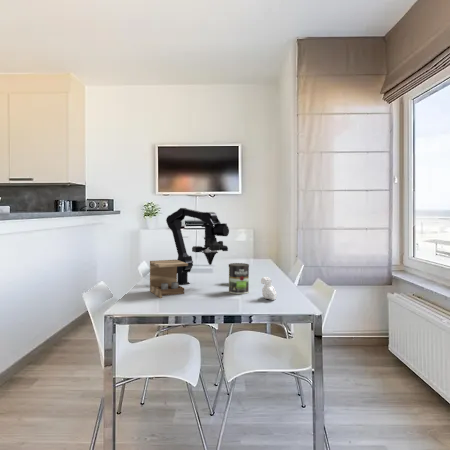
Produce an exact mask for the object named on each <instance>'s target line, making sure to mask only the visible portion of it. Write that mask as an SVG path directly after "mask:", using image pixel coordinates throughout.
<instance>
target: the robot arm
mask: <svg viewBox="0 0 450 450" xmlns="http://www.w3.org/2000/svg"><path fill="white" fill-rule="evenodd" d="M186 217H189V218H193V219H198V220H200V221H201V222H203V224H202V225H201V228H204V237H203V240H204V244H203V246H201V245H195V246H192V248H191V251H192V252H193V253H202V254H204V256H205V258H206V260H207V263H208V265H210V266H211V265H212V263H213V261H214V259H215V255H217V254H218V253H219V251H222V252H228V251H229V248H228V246H227V245H225V244H224V241H223V240H219V241H217V240H218V239H217V237H228V235H229V233H230V228H229V226H228V223H221V221H220V220H219V217H218V215H217V212H213V211H209V212H208V211H206V212H205V211H199V210H195V209H189V208H186V207H180V208H178V210H176V211H174V212H173V213H171V214H170V215H167V217H166V218H165V221H166V224H167V226H168V229H170V231H171V232H172V236H173V239H174V245H175V248H176V252H177V255H178V256H177V259H176V260H179V261H182V262H185V263H188V266H177V282H178V285H179V286H181V285H189V284H190V283H191V282H189V279H188V277H189V276H188V273H190V272H191V271H192V269H193V266H194V260H193V256H192V255H189V254H188V253H187V248H186V246H185V242H184V237H183V233H182V225H183V223H182V222H183V220H185V218H186Z"/></svg>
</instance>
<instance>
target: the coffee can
mask: <svg viewBox="0 0 450 450" xmlns="http://www.w3.org/2000/svg"><path fill="white" fill-rule="evenodd" d="M249 271H250V264H248V263H245V262H244V263H243V262H234V263H233V262H232V263H228V293H229V294H233V295H245V294H248V293H250V291H249V288H250V287H249V285H250V284H249V281H250V279H249V278H250V277H249V275H250V272H249Z"/></svg>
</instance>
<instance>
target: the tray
mask: <svg viewBox="0 0 450 450" xmlns="http://www.w3.org/2000/svg"><path fill="white" fill-rule="evenodd" d="M156 288H157V289H159V290H160V291H162V297H165V296H166V297H167V296H174V295H175V296H176V295H184V294H185V288H184V287H183V286H181V285H179V284H178V282H172V283H171V286H168V283H161V287H156Z"/></svg>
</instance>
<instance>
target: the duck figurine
mask: <svg viewBox="0 0 450 450" xmlns="http://www.w3.org/2000/svg"><path fill="white" fill-rule="evenodd" d="M260 283H261V284H262V285H264V286H263V287H262V288H261V293H262V297H263V298H264V299H265V300H272V301H274V300H276V299H277V296H278V295H277V291H276V290H275V287H274V286H273V285H272V279H271V278H270V277H268V276H263V277H262V278H261V280H260Z"/></svg>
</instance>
